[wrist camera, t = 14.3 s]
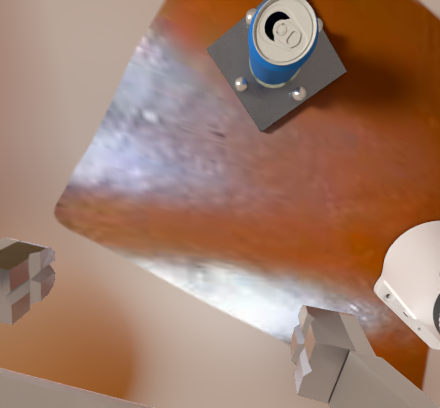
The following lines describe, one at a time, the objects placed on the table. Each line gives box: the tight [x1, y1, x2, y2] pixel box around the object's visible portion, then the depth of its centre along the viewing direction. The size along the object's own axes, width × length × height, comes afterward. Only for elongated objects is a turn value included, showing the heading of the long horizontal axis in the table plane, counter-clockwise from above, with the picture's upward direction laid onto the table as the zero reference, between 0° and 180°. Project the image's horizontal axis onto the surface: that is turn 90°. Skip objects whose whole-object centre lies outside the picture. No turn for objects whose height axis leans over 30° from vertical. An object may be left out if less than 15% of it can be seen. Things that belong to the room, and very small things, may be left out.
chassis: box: [207, 0, 347, 132], centre depth 36 cm, size 13×13×4 cm
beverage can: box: [248, 0, 319, 85], centre depth 31 cm, size 6×6×12 cm
